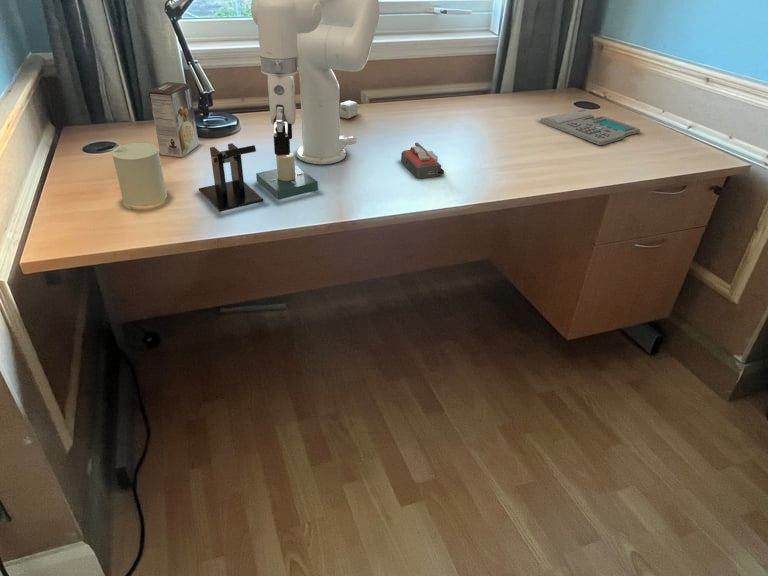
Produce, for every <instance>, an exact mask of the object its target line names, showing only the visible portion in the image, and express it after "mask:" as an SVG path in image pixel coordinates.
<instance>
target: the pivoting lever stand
mask: <svg viewBox="0 0 768 576" xmlns="http://www.w3.org/2000/svg"><path fill="white" fill-rule="evenodd" d="M227 148H228V149H227V150H232V149H237V148H238V146H237V145H235V144H234V143H232V142H231V143H227ZM209 153H210V159H211V166H212V167H211V168H212V174H213V182H214V184H213V185H207V186H202V187H199V188H198V191H199V193H201V195H202V196H203V197H204V198H205V199H206V200H207V201H208V202H209V203H210V204H211V205H212V206H213V207H214V208H215V210H217V211H218V212H219V213H221V212H225V211H226V212H227V211H229V210H233V209H237V208H241V207H245V206H246V207H247V206H249V205H250V206H251V205H255V204H258V203H263V202H264V198H263V197H261V196H260V195H259V194H258V193H257V192H256V191H255V190H254V189H252V188H251V187H250V186H249V185H248V184H247V183H246V182H245V179H244V171H243V160H242V154H241V155H238V156H235V157H234V161H232V162H229V165H230V167H229V168H230V175H231V181H226V173H225V166H224V165H225V164H223V157H222V153H221V151H220V150H219V149H217V147H215V146H211V147H209Z"/></svg>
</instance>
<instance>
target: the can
mask: <svg viewBox="0 0 768 576" xmlns="http://www.w3.org/2000/svg"><path fill="white" fill-rule="evenodd" d="M111 157H112V159H113V164H114V167H115V171H116V172H115V173H116V175H117V180H118V183H119V188H120V193H121V197H122V205H123V206H124V208H126V209H128V210H131V211H132V210H133V209H132V207H136V208H137V207H139V208H141V207H143V208H144V207H150V206H154V205H158V204H160V203H162V202H164V201H165V200H166V199H167V197H168V194H167V189H166V185H165V180H164V174H163V168H162V164H161V157H160V148H159V146H158V145H156V144H153V143H149V142H130V143H125V144H122V145H119V146H117V147H115V148H113V149H112V151H111Z"/></svg>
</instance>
